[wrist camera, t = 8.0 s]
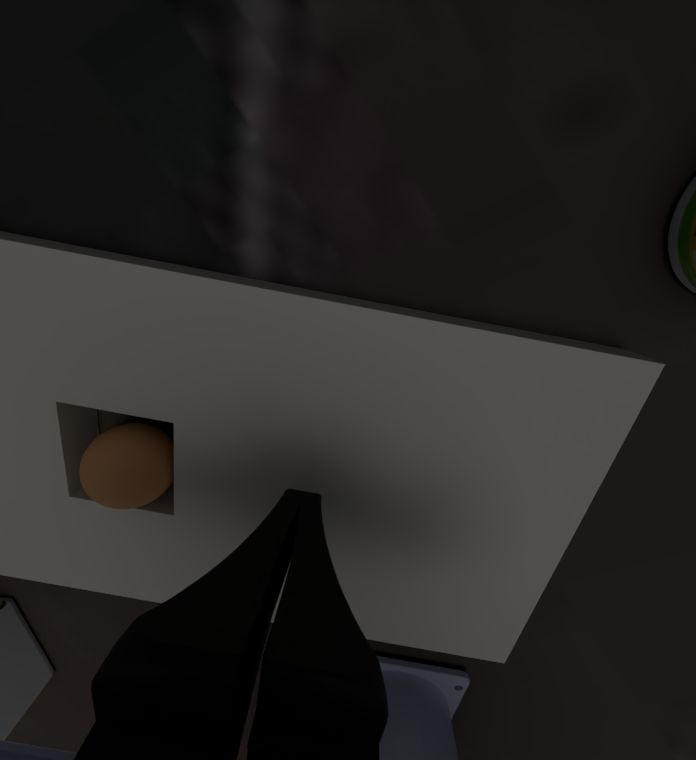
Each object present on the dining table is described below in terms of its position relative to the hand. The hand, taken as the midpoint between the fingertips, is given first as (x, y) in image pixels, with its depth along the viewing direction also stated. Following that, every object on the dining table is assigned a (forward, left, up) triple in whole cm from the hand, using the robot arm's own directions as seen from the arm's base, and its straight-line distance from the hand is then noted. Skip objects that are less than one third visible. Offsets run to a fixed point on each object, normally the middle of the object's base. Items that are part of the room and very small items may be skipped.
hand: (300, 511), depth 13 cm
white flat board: (0, +2, -3) cm, 3 cm away
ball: (0, +7, -1) cm, 7 cm away
